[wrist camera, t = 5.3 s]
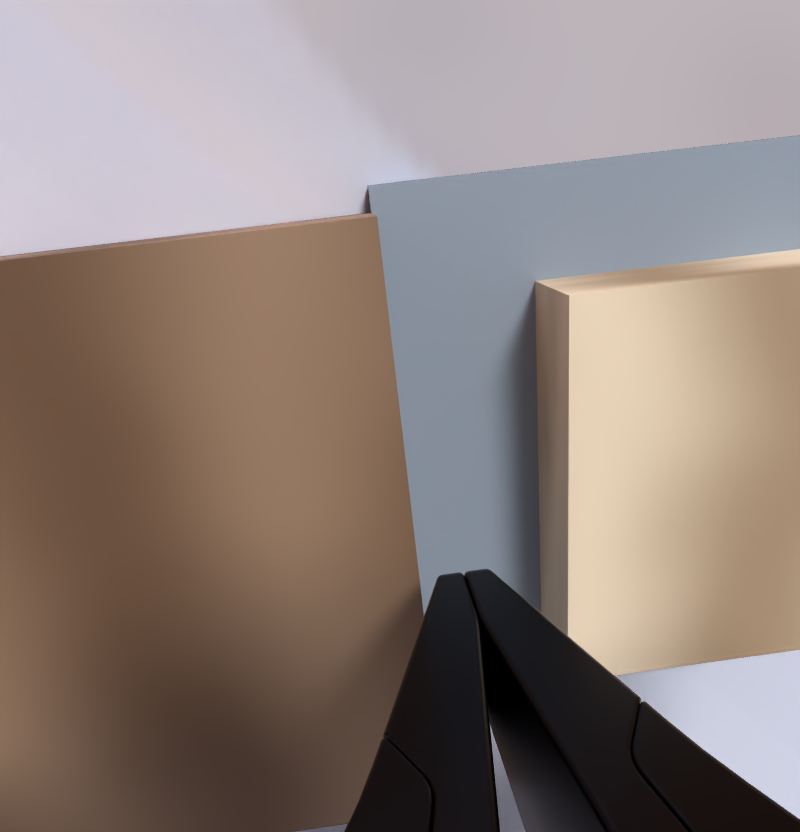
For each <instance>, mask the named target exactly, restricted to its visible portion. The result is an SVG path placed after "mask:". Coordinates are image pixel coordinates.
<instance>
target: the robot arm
mask: <svg viewBox="0 0 800 832" xmlns="http://www.w3.org/2000/svg"><path fill="white" fill-rule="evenodd" d="M490 725H491V728H492V731H493V735H494V738H495V741H496V744H497V747H498V750H499V753H500V756H501V759H502V762H503V765H504V768H505V771H506V774H507V777H508V780H509V783H510V786H511V789H512V792H513V795H514V798H515V801H516V804H517V807H518V810H519V813H520V816H521V819H522V822H523V825H524V828H525V831H526V832H800V819H799V818H797V817H796V816H794V815H793V814H792V813H790V812H789V811H787V810H786V809H784V808H783V807H782V806H780V805H779V804H777V803H776V802H775V801H773V800H772V799H770V798H769V797H768V796H766V795H765V794H763V793H762V792H761V791H759V790H758V789H756V788H755V787H754V786H752V785H751V784H749V783H748V782H746V781H745V780H744V779H742V778H741V777H740V776H738V775H737V774H736V773H734V772H733V771H732V770H730V769H729V768H728V767H726V766H725V765H724V764H722V763H721V762H719V761H718V760H717V759H715V758H714V757H713V756H711V755H710V754H709V753H707V752H706V751H705V750H703V749H702V748H701V747H700V746H698V745H697V744H696V743H695V742H693V741H692V740H691V739H690V738H688V737H687V736H686V735H685V734H683V733H682V732H681V731H680V730H679V729H677V728H676V727H675V726H674V725H672V724H671V723H670V722H669V721H667V720H666V719H665V718H664V717H663V716H662V715H660V714H659V713H658V712H657V711H656V710H654V709H653V708H652V707H651V706H650V705H649V704H647V703H646V702H641V698H640V697H639V696H638V695H637V694H635V693H634V692H633V691H632V690H631V689H630V688H628V687H627V686H626V685H625V684H624V683H622V682H621V681H620V680H619V679H618V678H617V677H615V676H614V675H613V674H612V673H611V672H610V671H608V670H607V669H606V668H605V667H604V666H603V665H601V664H600V663H599V662H598V661H597V660H595V659H594V658H593V657H592V656H591V655H590V654H588V653H587V652H586V651H585V650H584V649H583V648H581V647H580V646H579V645H578V644H577V643H576V642H574V641H573V640H572V639H571V638H570V637H568V636H567V635H566V634H565V633H564V632H563V631H561V630H560V629H559V628H558V627H557V626H556V625H554V624H553V623H552V622H551V621H550V620H549V619H547V618H546V617H545V616H544V615H543V614H542V613H540V612H539V611H538V610H537V609H536V608H534V607H533V606H532V605H531V604H530V603H529V602H527V601H526V600H525V599H524V598H523V597H522V596H520V595H519V594H518V593H517V592H516V591H515V590H513V589H512V588H511V587H510V586H509V585H507V584H506V583H505V582H504V581H503V580H502V579H500V578H499V577H498V576H497V575H496V574H495V573H493V572H492V571H491V570H489V569H480V570H472V571H467V572H466V573H465V574H464V575H463V574H462V573H460V572H458V573H450V574H443V575H440V576H438V578H437V580H436V583H435V586H434V589H433V592H432V595H431V597H430V600H429V603H428V606H427V609H426V612H425V615H424V618H423V621H422V624H421V626H420V629H419V632H418V635H417V638H416V641H415V644H414V647H413V650H412V653H411V656H410V658H409V661H408V664H407V667H406V670H405V673H404V676H403V679H402V682H401V685H400V687H399V690H398V693H397V696H396V699H395V702H394V705H393V708H392V711H391V714H390V716H389V719H388V722H387V725H386V728H385V731H384V734H383V739H382V740H381V742H380V745H379V748H378V750H377V753H376V756H375V759H374V762H373V765H372V767H371V770H370V773H369V775H368V778H367V780H366V783H365V786H364V788H363V791H362V793H361V796H360V799H359V801H358V803H357V805H356V808H355V810H354V812H353V814H352V816H351V819H350V821H349V823H348V825H347V827H346V830H345V832H500V826H499V816H498V805H497V795H496V785H495V774H494V764H493V753H492V743H491V732H490Z"/></svg>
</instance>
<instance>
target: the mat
mask: <svg viewBox="0 0 800 832" xmlns="http://www.w3.org/2000/svg"><path fill="white" fill-rule="evenodd" d="M368 192H369V200H370V209H371V213H372V214H374V215H376V216H377V220H378V228H379V237H380V245H381V254H382V262H383V271H384V279H385V288H386V296H387V305H388V313H389V322H390V330H391V339H392V347H393V356H394V364H395V373H396V381H397V390H398V399H399V407H400V416H401V424H402V433H403V441H404V450H405V458H406V467H407V475H408V484H409V492H410V501H411V509H412V518H413V526H414V535H415V543H416V552H417V560H418V569H419V578H420V586H421V595H422V603H423V612H424V615H425V612H426V609H427V606H428V603H429V600H430V597H431V595H432V592H433V589H434V586H435V583H436V580H437V578H438V576H440V575H443V574H450V573H458V572H460V573H462V574H463V575H464V574H465V573H466V572H467V571H472V570H480V569H489V570H491V571H492V572H493V573H495V574H496V575H497V576H498V577H499V578H500V579H502V580H503V581H504V582H505V583H506V584H507V585H509V586H510V587H511V588H512V589H513V590H515V591H516V592H517V593H518V594H519V595H520V596H522V597H523V598H524V599H525V600H526V601H527V602H529V603H530V604H531V605H532V606H533V607H534V608H536V609H537V610H538V611H539V612H540V613H541V580H540V524H539V469H538V413H537V358H536V302H535V281H539V280H548V279H556V278H564V277H573V276H581V275H589V274H597V273H606V272H614V271H622V270H631V269H639V268H647V267H656V266H664V265H672V264H680V263H689V262H697V261H705V260H714V259H722V258H730V257H739V256H747V255H755V254H763V253H772V252H780V251H788V250H797V249H800V135H796V136H788V137H779V138H771V139H763V140H754V141H745V142H737V143H728V144H720V145H711V146H702V147H694V148H685V149H677V150H668V151H660V152H651V153H644V154H634V155H625V156H617V157H609V158H600V159H591V160H583V161H574V162H567V163H566V162H565V163H557V164H550V165H540V166H531V167H523V168H514V169H506V170H497V171H488V172H480V173H471V174H463V175H454V176H445V177H437V178H428V179H420V180H411V181H403V182H394V183H386V184H377V185H368Z"/></svg>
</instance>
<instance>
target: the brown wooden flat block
mask: <svg viewBox="0 0 800 832" xmlns="http://www.w3.org/2000/svg"><path fill="white" fill-rule="evenodd" d="M423 618H424V612H423V603H422V595H421V586H420V578H419V569H418V560H417V552H416V543H415V535H414V526H413V518H412V509H411V501H410V492H409V484H408V475H407V467H406V458H405V450H404V441H403V433H402V424H401V416H400V407H399V399H398V390H397V381H396V373H395V364H394V356H393V347H392V339H391V330H390V322H389V313H388V305H387V296H386V288H385V279H384V271H383V262H382V254H381V245H380V237H379V228H378V220H377V216H376V215H374V214H372V213H365V214H356V215H348V216H339V217H331V218H323V219H314V220H306V221H297V222H289V223H280V224H272V225H263V226H255V227H246V228H238V229H229V230H221V231H212V232H204V233H196V234H187V235H179V236H170V237H162V238H153V239H145V240H136V241H128V242H119V243H111V244H102V245H94V246H85V247H77V248H69V249H60V250H52V251H43V252H35V253H26V254H18V255H9V256H1V257H0V832H294V831H300V830H307V829H314V828H321V827H328V826H334V825H341V824H348V823H349V821H350V819H351V816H352V814H353V812H354V810H355V808H356V805H357V803H358V801H359V799H360V796H361V793H362V791H363V788H364V786H365V783H366V780H367V778H368V775H369V773H370V770H371V767H372V765H373V762H374V759H375V756H376V753H377V750H378V748H379V745H380V742H381V740H382V739H383V734H384V731H385V728H386V725H387V722H388V719H389V716H390V714H391V711H392V708H393V705H394V702H395V699H396V696H397V693H398V690H399V687H400V685H401V682H402V679H403V676H404V673H405V670H406V667H407V664H408V661H409V658H410V656H411V653H412V650H413V647H414V644H415V641H416V638H417V635H418V632H419V629H420V626H421V624H422V621H423Z"/></svg>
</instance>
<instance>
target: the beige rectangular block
mask: <svg viewBox="0 0 800 832" xmlns="http://www.w3.org/2000/svg"><path fill="white" fill-rule="evenodd" d="M535 302H536V358H537V413H538V469H539V524H540V580H541V613H542V614H543V615H544V616H545V617H546V618H547V619H549V620H550V621H551V622H552V623H553V624H554V625H556V626H557V627H558V628H559V629H560V630H561V631H563V632H564V633H565V634H566V635H567V636H568V637H570V638H571V639H572V640H573V641H574V642H576V643H577V644H578V645H579V646H580V647H581V648H583V649H584V650H585V651H586V652H587V653H588V654H590V655H591V656H592V657H593V658H594V659H595V660H597V661H598V662H599V663H600V664H601V665H603V666H604V667H605V668H606V669H607V670H608V671H610V672H611V673H612V674H613V675H614V676H615V675H622V674H629V673H636V672H643V671H650V670H657V669H665V668H672V667H679V666H686V665H693V664H700V663H707V662H715V661H722V660H729V659H736V658H743V657H750V656H757V655H764V654H772V653H779V652H786V651H793V650H800V249H797V250H788V251H780V252H772V253H763V254H755V255H747V256H739V257H730V258H722V259H714V260H705V261H697V262H689V263H680V264H672V265H664V266H656V267H647V268H639V269H631V270H622V271H614V272H606V273H597V274H589V275H581V276H573V277H564V278H556V279H548V280H539V281H535Z"/></svg>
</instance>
